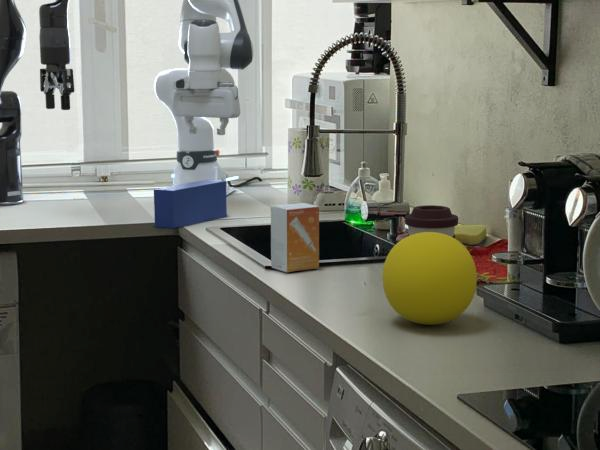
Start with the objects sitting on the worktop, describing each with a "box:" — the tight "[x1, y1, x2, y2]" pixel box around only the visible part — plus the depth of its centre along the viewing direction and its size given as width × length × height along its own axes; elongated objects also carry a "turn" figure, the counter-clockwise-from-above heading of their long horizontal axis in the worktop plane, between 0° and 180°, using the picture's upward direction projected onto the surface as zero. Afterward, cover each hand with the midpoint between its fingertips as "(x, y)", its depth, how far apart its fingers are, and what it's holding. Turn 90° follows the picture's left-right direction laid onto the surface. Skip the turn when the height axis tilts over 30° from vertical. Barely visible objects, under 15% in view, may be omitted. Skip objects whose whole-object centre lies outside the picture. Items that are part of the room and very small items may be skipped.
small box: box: [270, 202, 320, 273], centre depth 214 cm, size 8×6×13 cm
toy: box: [381, 232, 478, 326], centre depth 170 cm, size 15×15×15 cm
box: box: [153, 180, 228, 230], centre depth 275 cm, size 22×6×10 cm, turn 147°
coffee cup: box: [404, 204, 459, 239], centre depth 197 cm, size 10×10×15 cm
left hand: (58, 109), depth 270 cm, fingers open, 8 cm apart
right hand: (206, 134), depth 278 cm, fingers open, 8 cm apart
